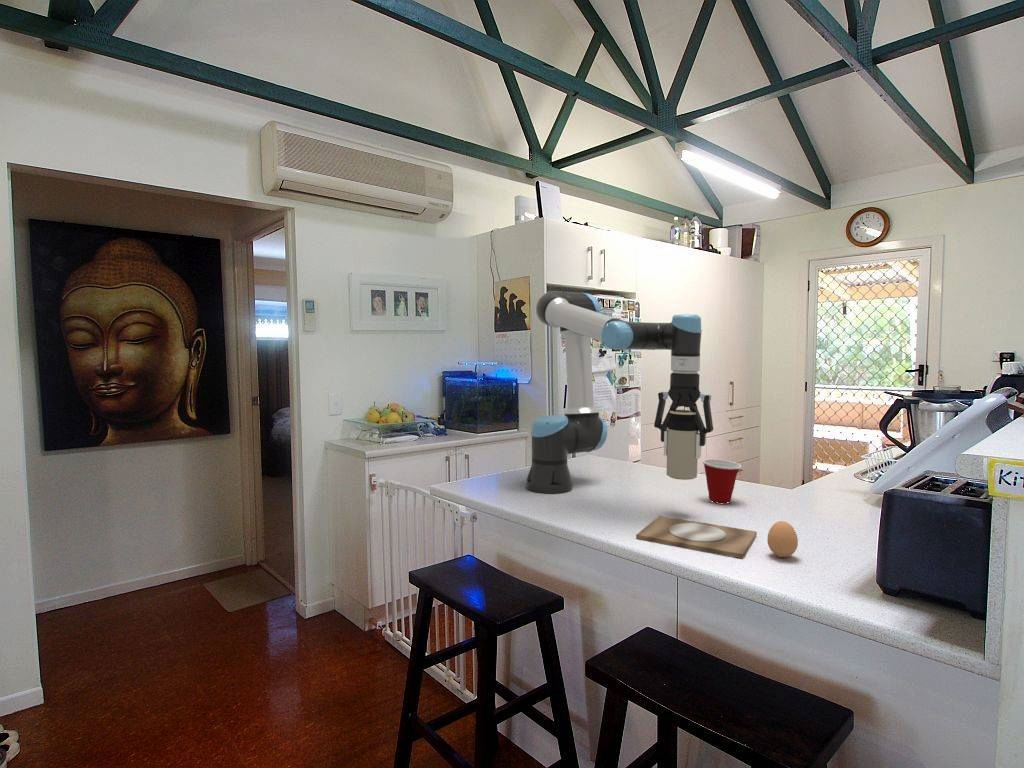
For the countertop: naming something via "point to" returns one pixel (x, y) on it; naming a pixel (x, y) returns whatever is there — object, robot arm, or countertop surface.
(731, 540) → the walnut board
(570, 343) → the robot arm
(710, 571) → the countertop surface
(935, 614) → the countertop surface
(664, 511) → the countertop surface
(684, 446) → the travel mug
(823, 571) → the countertop surface
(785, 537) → the egg
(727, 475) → the plastic cup
